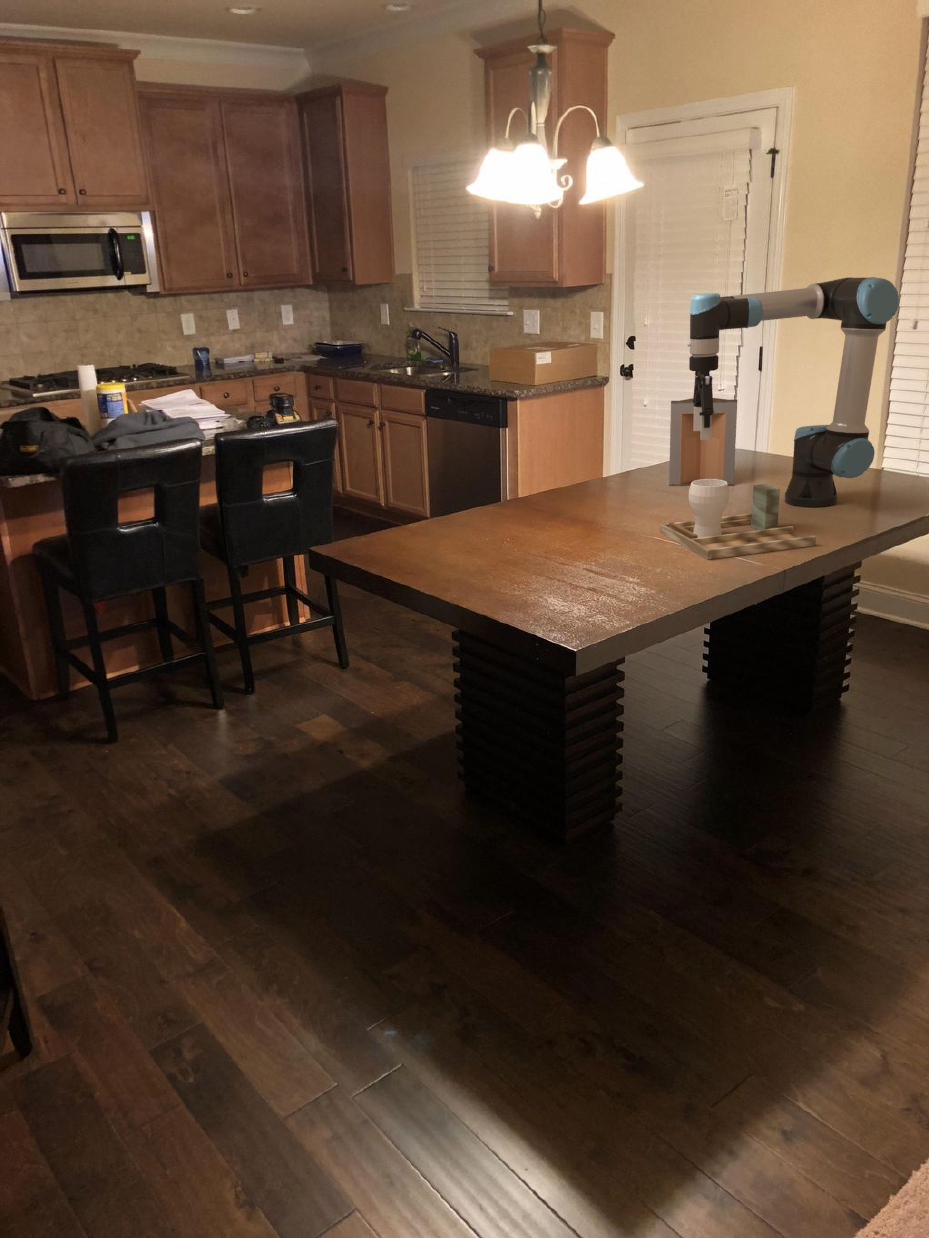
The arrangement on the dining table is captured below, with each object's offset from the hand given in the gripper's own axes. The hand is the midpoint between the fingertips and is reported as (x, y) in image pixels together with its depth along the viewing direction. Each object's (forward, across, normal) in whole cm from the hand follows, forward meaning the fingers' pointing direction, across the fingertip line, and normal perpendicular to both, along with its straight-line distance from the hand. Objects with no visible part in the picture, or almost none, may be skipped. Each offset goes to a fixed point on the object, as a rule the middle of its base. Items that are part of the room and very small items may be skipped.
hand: (702, 435), depth 265 cm
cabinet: (+27, -59, +9) cm, 66 cm away
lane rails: (+27, +10, +8) cm, 30 cm away
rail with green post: (+27, +5, +6) cm, 28 cm away
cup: (+27, +7, +1) cm, 28 cm away
